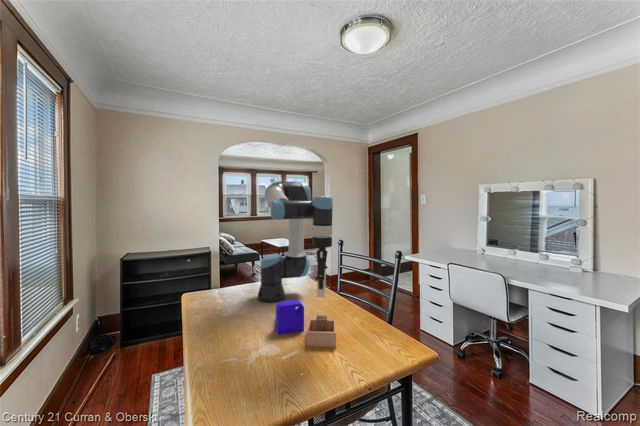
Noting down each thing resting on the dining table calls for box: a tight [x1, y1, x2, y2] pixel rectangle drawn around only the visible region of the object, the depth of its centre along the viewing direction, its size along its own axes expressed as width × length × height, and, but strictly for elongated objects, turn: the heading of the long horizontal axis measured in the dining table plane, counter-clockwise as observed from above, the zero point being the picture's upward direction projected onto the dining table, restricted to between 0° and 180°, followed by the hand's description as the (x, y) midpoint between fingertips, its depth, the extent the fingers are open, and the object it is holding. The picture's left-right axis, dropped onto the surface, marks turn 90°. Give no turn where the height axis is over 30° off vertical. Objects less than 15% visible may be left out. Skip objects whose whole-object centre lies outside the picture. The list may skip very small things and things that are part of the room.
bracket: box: [275, 299, 305, 336], centre depth 119 cm, size 18×11×12 cm, turn 19°
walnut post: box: [316, 314, 328, 332], centre depth 105 cm, size 4×4×8 cm
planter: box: [305, 318, 337, 349], centre depth 105 cm, size 11×11×6 cm
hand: (321, 290), depth 105 cm, fingers open, 13 cm apart
